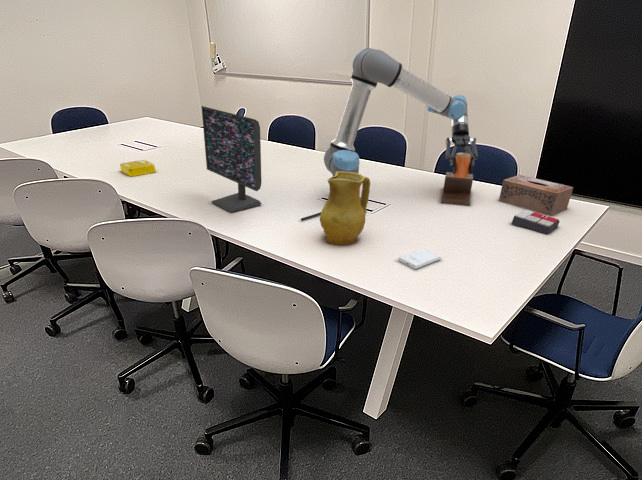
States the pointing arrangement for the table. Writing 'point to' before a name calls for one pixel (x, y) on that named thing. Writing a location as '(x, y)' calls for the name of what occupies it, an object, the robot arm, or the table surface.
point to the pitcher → (345, 208)
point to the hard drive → (419, 258)
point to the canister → (462, 165)
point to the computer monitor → (233, 154)
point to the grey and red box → (535, 221)
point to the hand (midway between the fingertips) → (462, 172)
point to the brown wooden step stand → (457, 189)
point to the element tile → (137, 168)
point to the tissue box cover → (535, 194)
